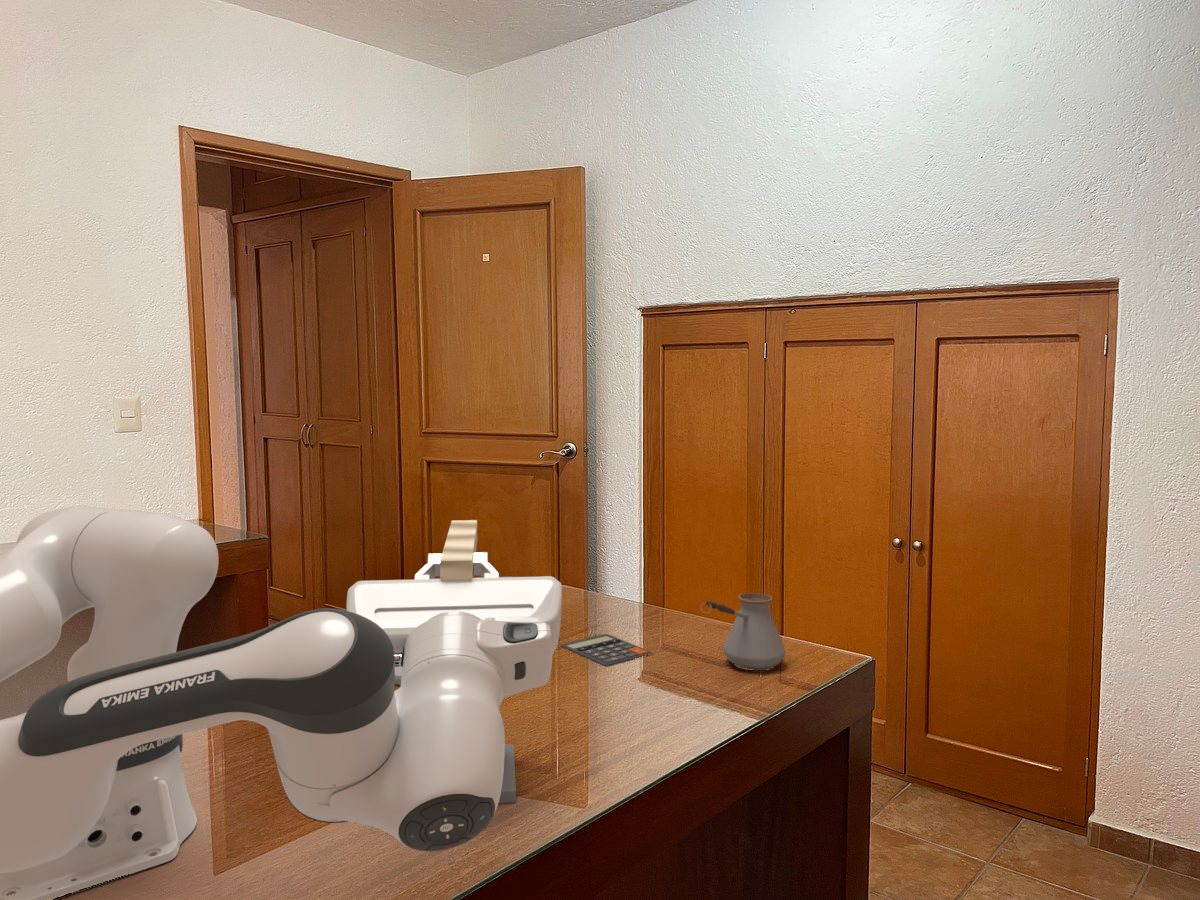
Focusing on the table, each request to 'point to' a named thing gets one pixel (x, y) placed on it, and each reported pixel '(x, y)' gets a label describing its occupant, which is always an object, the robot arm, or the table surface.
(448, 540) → the maple bar
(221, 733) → the table surface
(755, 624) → the coffee pot
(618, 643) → the calculator
